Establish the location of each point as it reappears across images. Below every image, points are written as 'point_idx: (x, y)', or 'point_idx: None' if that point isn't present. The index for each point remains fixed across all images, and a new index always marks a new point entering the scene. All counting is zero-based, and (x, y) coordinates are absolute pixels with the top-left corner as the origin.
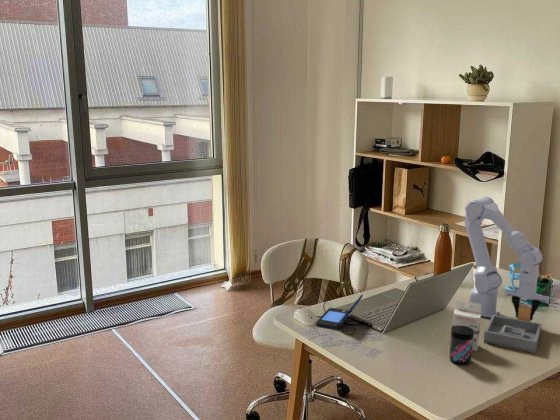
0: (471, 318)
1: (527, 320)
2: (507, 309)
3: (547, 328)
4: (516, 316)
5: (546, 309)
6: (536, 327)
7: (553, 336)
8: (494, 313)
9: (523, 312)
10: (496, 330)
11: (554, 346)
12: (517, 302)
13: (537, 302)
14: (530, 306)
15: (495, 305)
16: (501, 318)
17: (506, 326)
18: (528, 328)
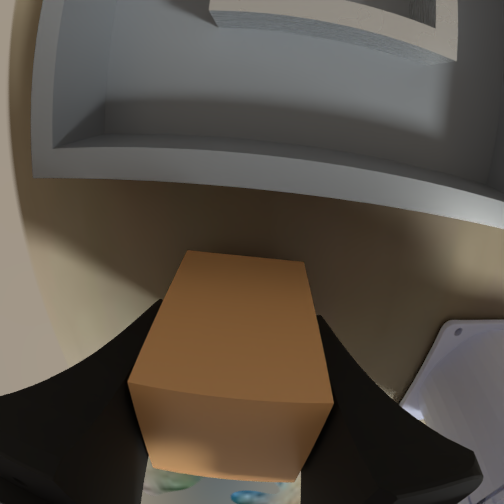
0: None
1: (198, 278)
2: None
3: (79, 299)
4: (321, 319)
5: (158, 475)
6: (93, 141)
7: (22, 173)
8: (439, 370)
9: (247, 344)
10: (473, 51)
11: (19, 4)
12: (391, 472)
13: (15, 483)
14: (165, 456)
15: (458, 417)
16: (485, 195)
17: (429, 27)
18: (182, 138)
